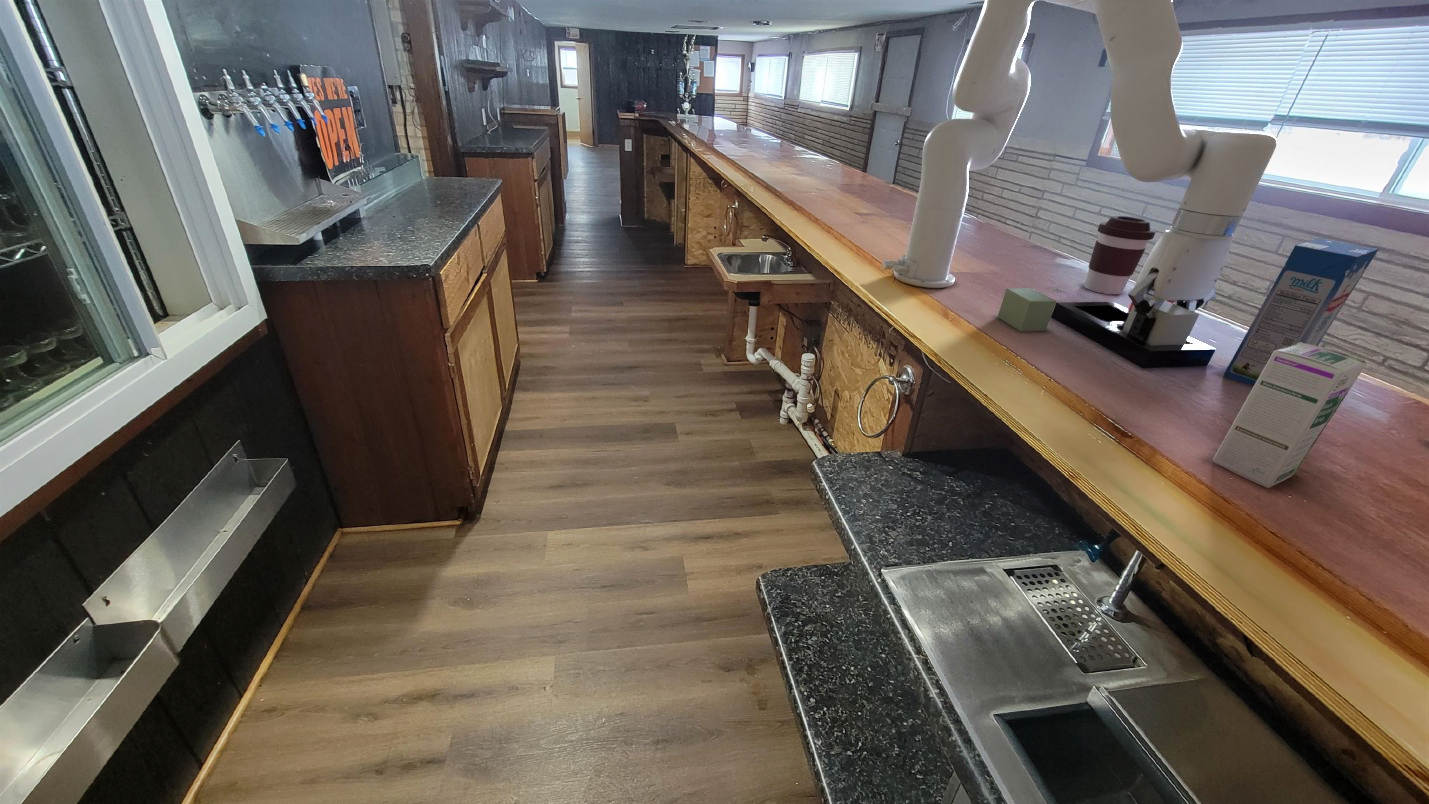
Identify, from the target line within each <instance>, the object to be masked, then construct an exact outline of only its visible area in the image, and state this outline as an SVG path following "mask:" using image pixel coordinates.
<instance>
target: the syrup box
mask: <svg viewBox="0 0 1429 804" xmlns="http://www.w3.org/2000/svg"><path fill="white" fill-rule="evenodd" d="M1366 366H1367V361H1366V360H1363V359H1361V358H1359V357H1355V356H1352V355H1350V354H1348V353H1344V352H1341V351H1337V350H1334V349H1332V348H1331V349H1330V348H1328V347H1323V346H1319V345H1318V346H1315V345H1310V344H1305V343H1302V342H1299V343H1297V344H1295V345H1293V346H1288V347H1285V348H1282V349H1279V350H1276V351H1273V353H1272V355H1271V357H1270V359H1269V360H1268V362H1267V364H1266V366H1265V367H1264V369H1263V371H1262V373H1261V374H1260V376H1259V378H1258V380H1257V381H1256V383H1255V385H1254V386H1252V388H1251V390H1250V392H1249V393H1248V395H1247V398H1246V399H1245V401H1244V402H1243V404H1242V406H1241V408H1240V410H1239V411H1238V413H1237V415H1236V417H1235V418H1234V420H1233V422H1232V424H1231V426H1230V427H1229V429H1228V430H1227V433H1226V434H1225V436H1224V438H1223V439H1222V442H1221V444H1220V445H1219V447H1218V448H1217V450H1216V452H1215V454H1214V456H1213V458H1212V462H1213V463H1215V464H1216V465H1218V466H1219V467H1222V468H1224V469H1225V470H1228V471H1230V472H1232V473H1233V474H1236V475H1238V476H1240V477H1242V478H1244V479H1247V480H1249V481H1251V482H1253V483H1255V484H1258V485H1260V486H1262V487H1264V488H1266V489H1270V488H1272V487H1273V486H1276V485H1279V484H1280V483H1282V482H1285V481H1286V480H1287V479H1289V478H1291V477H1293V476H1294V475H1296V472H1297V471H1298V469H1299V468H1300V466H1301V465H1302V464H1303V462H1304V460H1305V459H1306V457H1307V456H1308V454H1309V453H1310V451H1311V449H1312V448H1313V447H1314V445H1315V443H1316V442H1317V440H1318V439H1319V438H1320V436H1321V435H1322V434H1323V431H1324V430H1325V428H1326V427H1327V425H1328V424H1329V423H1330V421H1331V419H1332V418H1333V416H1334V415H1335V413H1336V412H1337V411H1338V409H1339V407H1340V406H1341V404H1342V403H1343V401H1344V399H1345V398H1346V397H1347V395H1348V393H1349V392H1350V390H1351V389H1352V388H1353V386H1354V384H1355V382H1356V381H1357V379H1358V378H1359V376H1360V375H1361V374H1362V372H1363V370H1364V369H1365V367H1366Z"/></svg>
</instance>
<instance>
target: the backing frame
mask: <svg viewBox="0 0 1429 804" xmlns="http://www.w3.org/2000/svg"><path fill="white" fill-rule="evenodd" d="M1130 311H1131V310H1129V308H1128V307H1125V306H1123V305H1120V304H1118V303H1116V302H1115V301H1056V304H1055V307H1054V309H1053V312H1052V315H1051V318H1050V319H1053V320H1055V321H1057V322H1058V323H1060V324H1062V325H1064V326H1065V327H1067V328H1069V329H1071V330H1073V331H1074V332H1076V333H1078V334H1080V335H1081V336H1083V337H1085V338H1087V339H1088V340H1090V341H1093V342H1095V343H1096V344H1098V345H1099V346H1101V347H1103V348H1105V349H1107V350H1109V351H1110V352H1112V353H1114V354H1116V355H1118V356H1119V357H1121V358H1123V359H1125V360H1127V361H1128V362H1130V363H1132V364H1134V365H1136V366H1137V367H1140V368H1141V369H1158V368H1159V369H1161V368H1162V369H1163V368H1164V369H1165V368H1186V367H1187V368H1188V367H1190V368H1191V367H1208V365H1209V364H1210V362H1211V359H1212V358H1213V356H1214V354H1215V352H1216V350H1217V348H1215V347H1213V346H1211V345H1209V344H1206V343H1204V342H1202V341H1199V340H1197V339H1195V338H1193V337H1191V336H1189V337H1188V339H1187V341H1186V343H1185V345H1153V346H1152V345H1150V344H1148V343H1146V342H1144V341H1142V340H1140V339H1138V338H1136V337H1134V336H1132V335H1130V334H1128V333H1126V332H1124V331H1122V330H1123V328H1124V325H1125V323H1126V321H1127V318H1128V316H1129V314H1130Z"/></svg>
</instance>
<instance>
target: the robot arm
mask: <svg viewBox="0 0 1429 804" xmlns="http://www.w3.org/2000/svg"><path fill="white" fill-rule="evenodd" d="M1039 1H1040V0H984V2H983V5H982V9H981V11H980V14H979V18H978V20H977V22H976V25H975V29H974V31H973V33H972V35H971V37H970V40H969V43H968V46H967V48H966V51H965V53H964V56H963V58H962V62H961V63H960V66H959V69H958V72H957V74H956V77H955V80H954V83H953V87H952V91H951V99H952V102H953V104H954V105H955V107H956V108H957V109H959V110H961V111H962V112H966V113H971V114H970V117H969V118H950V119H947V120H944V121H941V122H939V123H938V124H937V125H935V126H934V127H933V128H932V129H931V130H930V131H929V132H928V134H927V135H926V138H925V140H924V143H923V147H922V153H921V175H920V182H919V189H918V193H917V199H916V204H915V208H914V213H913V217H912V223H911V227H910V232H909V237H908V241H907V246H906V251H905V254H902V255H900V257H899V258H898V259H896V260H883V261H882V263H881V268H882V270H885V271H886V270H892V272H894V274H893V276H894V278H895V279H896V280H897V281H900V282H902V283H903V284H904V283H905V284H907V285H911V286H915V287H920V288H921V287H922V288H931V289H942V288H948V287H951V286H953V285H954V284H955V279H956V277H954V275H952V274H951V273H950V270H951V269H950V268H951V264H952V261H953V255H954V253H955V248H956V244H957V241H958V236H959V233H960V229H961V225H962V221H963V217H964V214H965V210H966V205H967V201H968V195H969V171H979V170H983V169H985V168H988V167H989V166H991V165H992V164H994V163H995V162H996V161H997V160H998V158H999V157H1000V156H1001V154H1002V152H1003V151H1004V149H1005V147H1006V146H1007V143H1008V141H1009V139H1010V136H1011V134H1012V132H1013V130H1014V128H1015V125H1016V124H1017V121H1018V118H1019V117H1020V114H1021V112H1022V110H1023V108H1024V106H1025V103H1026V101H1027V98H1028V96H1029V93H1030V89H1031V83H1032V81H1031V71H1030V69H1029V66H1028V64H1027V63H1026V62H1025V61H1023V60H1022V59H1021V58H1019V57H1018V54H1019V53H1020V49H1021V47H1022V45H1023V42H1024V40H1025V38H1026V37H1027V33H1028V30H1029V27H1030V21H1031V16H1032V7H1033V6H1034V4H1035V3H1036V2H1039ZM1041 1H1043V2H1046V3H1050V4H1053V5H1059V6H1063V7H1066V8H1067V7H1068V8H1072V9H1076V10H1081V11H1084V12H1088V13H1091V14H1095V17H1096V20H1097V25H1098V28H1099V31H1100V34H1101V38H1102V42H1103V46H1104V49H1105V52H1106V58H1107V61H1108V63H1109V64H1108V65H1109V68H1110V72H1111V77H1112V79H1111V80H1112V82H1111V87H1110V106H1109V107H1110V108H1109V109H1110V112H1109V113H1110V123H1111V128H1112V133H1113V136H1114V140H1115V144H1116V148H1117V151H1118V154H1119V158H1120V161H1121V163H1122V165H1123V167H1124V169H1125V171H1126V172H1127V174H1128V175H1130V176H1131V177H1132V178H1133V179H1135V180H1137V181H1139V182H1143V183H1157V182H1164V181H1176V180H1189V183H1188V186H1187V187H1186V189H1185V192H1184V195H1183V197H1182V199H1181V202H1180V204H1179V207H1178V209H1177V211H1176V213H1175V216H1174V218H1173V220H1172V222H1171V225H1170V226H1169V229H1165V230H1164V231H1163V232H1162V234H1161V235H1160V237H1158V239H1157V241H1156V243H1155V244H1154V246H1153V247H1152V249H1151V251H1150V252H1149V254H1148V256H1147V258H1146V260H1145V262H1144V264H1143V266H1142V268H1141V270H1140V272H1139V274H1138V277H1137V278H1136V280H1135V284H1134V287H1133V288H1131V290H1129V292H1128V293H1127V296H1128V298H1129V299H1130V301H1131V302H1132V301H1133V305H1134V307H1135V309H1134V311H1135V312H1137V313H1136V316H1135V318H1134V320H1133V323H1132V325H1131V327H1130V330H1129V332H1128V334H1130V335H1132V336H1134V337H1136V338H1138V339H1140V340H1142V341H1146V340H1147V339H1148V336H1149V334H1150V332H1151V330H1152V328H1153V325H1154V323H1155V321H1156V318H1154V315H1155V314H1156V313H1157V311H1158V310H1159V308H1160V307H1161V306H1162V304H1163V303H1164V302H1165V300H1175V301H1174V304H1175V305H1178V306H1180V307H1183V308H1185V309H1188V310H1190V311H1192V312H1195V313H1196V311H1197V310H1198V309H1199V308H1200V307H1202V306H1203V305H1204V303H1206V302H1208V301H1210V300H1211V299H1212V298H1214V297H1215V296H1216V294H1217V292H1216V288H1215V286H1216V284H1217V282H1218V280H1219V278H1220V276H1221V273H1222V271H1223V269H1224V267H1225V264H1226V261H1227V260H1228V259H1227V258H1228V255H1229V253H1230V249H1231V246H1232V243H1233V239H1234V234H1235V232H1236V231H1237V228H1238V226H1239V225H1240V222H1241V220H1242V218H1243V216H1244V214H1245V213H1246V210H1247V208H1248V206H1249V204H1250V201H1251V200H1252V197H1253V196H1254V195H1255V192H1256V189H1257V187H1258V186H1259V184H1260V181H1261V179H1262V178H1263V176H1264V173H1265V171H1266V169H1267V167H1268V165H1269V163H1270V161H1271V159H1272V156H1273V155H1274V153H1275V150H1276V148H1277V143H1278V142H1277V138H1276V137H1275V136H1274V135H1273V134H1270V133H1265V132H1254V131H1253V132H1252V131H1239V130H1238V131H1237V130H1236V131H1235V130H1224V131H1220V130H1219V131H1218V130H1213V129H1208V128H1203V127H1199V126H1193V125H1182V124H1181V125H1180V120H1179V117H1178V114H1177V110H1176V106H1175V102H1174V98H1173V91H1172V76H1173V75H1172V74H1173V70H1174V68H1175V64H1176V62H1177V61H1178V59H1179V57H1180V56H1181V53H1182V51H1183V47H1184V44H1183V43H1184V42H1183V37H1182V33H1181V30H1180V26H1179V23H1178V20H1177V19H1178V18H1177V15H1176V12H1175V8H1174V3H1173V1H1174V0H1041ZM1151 299H1152V300H1154V303H1153V304H1152V305H1151V307H1150V305H1149V302H1150V300H1151Z"/></svg>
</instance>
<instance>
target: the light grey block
mask: <svg viewBox="0 0 1429 804" xmlns="http://www.w3.org/2000/svg"><path fill="white" fill-rule="evenodd" d="M1153 303H1154V300H1152V299H1151V300H1150V302H1149V305H1150V307H1151V305H1152V304H1153ZM1134 309H1135V307H1134V305H1133V307H1132V309H1131V311H1130V314H1129V316H1128V318H1127V321H1126V323H1125V325H1124V328H1123V330H1122V331H1124V332H1126V333H1128V332H1129V330H1130V327H1131V325H1132V323H1133V320H1134V318H1135V316H1136V313H1137V312H1135V311H1134ZM1199 316H1200V314H1199V313H1198V312H1196V311H1195V312H1192V311H1190V310H1188V309H1185V308H1183V307H1180V306H1178V305H1175V304H1173V303H1170V302H1168V301H1165V302H1164V303H1163V304H1162V306H1161V307H1160V308H1159V310H1158V311H1157V313H1156V314H1155V315H1154V318H1156V321H1155V323H1154V325H1153V328H1152V330H1151V332H1150V334H1149V336H1148V339H1147V340H1146V341H1144V342H1146V343H1148V344H1150V345H1152V346H1153V345H1185V343H1186V341H1187V339H1188V337H1190V334H1191V332H1192V331H1193V329H1194V327H1195V324H1196V322H1197V320H1198V318H1199Z"/></svg>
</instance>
